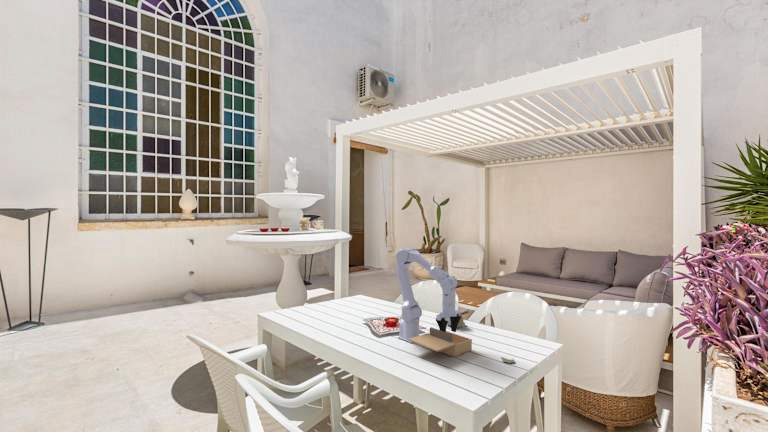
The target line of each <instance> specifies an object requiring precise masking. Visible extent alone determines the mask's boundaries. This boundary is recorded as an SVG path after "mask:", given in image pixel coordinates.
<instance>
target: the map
mask: <svg viewBox="0 0 768 432" xmlns="http://www.w3.org/2000/svg"><path fill="white" fill-rule="evenodd" d="M500 358H501V360H502V362H505V363H509V364H513V363H515V362H516V361H515V359H513V358H512V359H508V358H506V357H502V356H500Z"/></svg>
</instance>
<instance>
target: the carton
mask: <svg viewBox="0 0 768 432" xmlns="http://www.w3.org/2000/svg"><path fill="white" fill-rule="evenodd" d="M446 332H447V333H450V334H452V342H455V343H457V345H454V346H452V347H449V348H446V349H443V350H441V351H439V352H441V353H443V354H446V355H448V356H450V357H453V358H457V357H458V356H461V355H465V354H466V353H469V352H472V349H473V347H472V345H473V344H472V343H473V340H472V338H468V337H465V336H463V335H460V334H457V333H455V332H452V331H448V330H446Z"/></svg>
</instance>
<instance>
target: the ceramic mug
mask: <svg viewBox="0 0 768 432" xmlns="http://www.w3.org/2000/svg"><path fill="white" fill-rule="evenodd" d="M459 316H461V319H460V321H459V323H458V326H457V329H460V328H461V327H462V326H465V324H466V322H464V317H463V316H462V314H460V315H459ZM445 320H446V321H448V323H447V326H450V327H451V321H450V317H448V318H445Z"/></svg>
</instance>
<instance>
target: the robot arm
mask: <svg viewBox="0 0 768 432" xmlns="http://www.w3.org/2000/svg"><path fill="white" fill-rule="evenodd" d="M394 256H395V266H394V267H395V271H396V272H395V273H396V276H397V280H398V284H399V287H400V293H401V297H402V301H403V303H402V305H401V318H402V319H401V320H400V322H399V331H398V332H399V333H398V334H399V336H397V338H398V339H401V340H403V341H405V342H407V343H411V344H413V343H414V342H411V341H409V340H408V339H410V338H413V337H417V336H420V318H421V316H422V314H423V311H422V308H421V307H420V305H419V302H418V301H417V300H416V299H415V296H414V291H413V288H412V283H411V279H410V275H409V271H408V267H409V265H411V263H417V264H418V265H419V266H421V267H422V268H423V269H424V270H426V271H428V274H429V276H430V277H431V278H432V279H433V280H435V281H436V282H437V283H438V284H440V288H441V290H442V304H441V305H442V307H441V309H442V312H440V313H439V314H437V315H436V318H435V321H436V323H437V326H438V330H441V331H444V332H446V331H447V327H448V325H447V323H448V321H446V320H445V318H448V317H450V321H451V326H450V332H452V333H456V332H457V329H458V328H457V326H458V323H459V321H460V319H461V316H462V315H461V310H458V309H456V288H457V286H458V283H459V282H458V280H457V278H456V277H455V276H454V275H450V273H448V272H446V271H445V270H444V269H442V266H440V265H439V266H438V265H433V264H432V263H431V262H430V261H429V260H427V259H426V257H424V256H423V255H422V254H421V253H420V252H419V251H418V250H417V249H416V248H414V247H407V248H400V249H399V250H398V251H397V252H396V253H395V255H394ZM459 315H461V316H459Z"/></svg>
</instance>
